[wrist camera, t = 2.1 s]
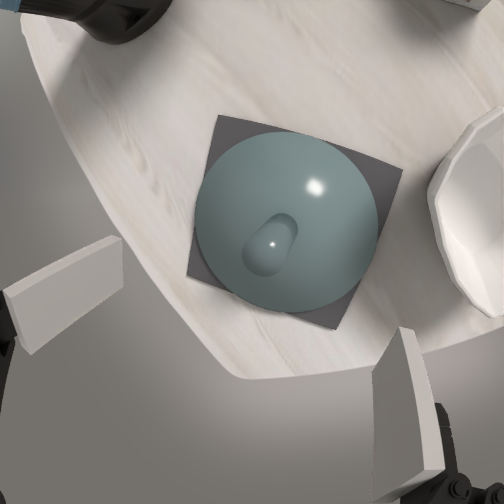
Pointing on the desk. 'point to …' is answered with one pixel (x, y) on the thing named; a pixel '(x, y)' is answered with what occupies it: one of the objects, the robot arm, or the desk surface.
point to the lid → (286, 222)
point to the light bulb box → (472, 3)
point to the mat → (373, 170)
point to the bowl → (473, 212)
